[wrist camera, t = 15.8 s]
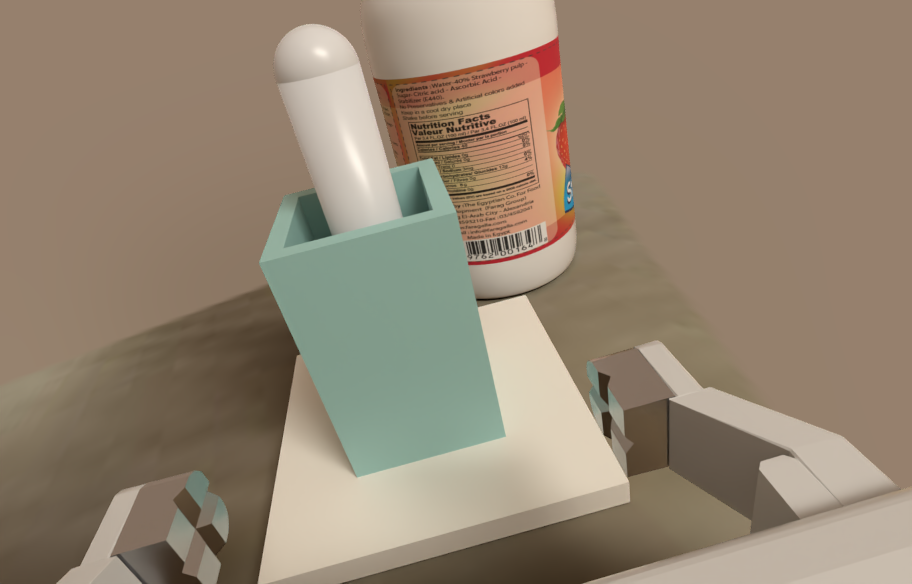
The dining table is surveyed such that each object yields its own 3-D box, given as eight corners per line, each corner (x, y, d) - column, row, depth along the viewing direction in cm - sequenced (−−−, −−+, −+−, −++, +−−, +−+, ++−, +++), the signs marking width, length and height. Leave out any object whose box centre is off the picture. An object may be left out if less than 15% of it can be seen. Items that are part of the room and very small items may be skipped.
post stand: (269, 603, 17) (-77, 126, 9) (304, 370, 27) (158, 55, 19) (629, 501, 17) (603, -39, 9) (527, 310, 27) (474, -21, 20)
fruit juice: (402, 267, 34) (217, -357, 20) (515, 214, 38) (426, -352, 23) (481, 325, 27) (278, -593, 13) (612, 253, 30) (569, -537, 16)
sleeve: (357, 477, 19) (258, 263, 14) (357, 379, 24) (284, 195, 19) (506, 436, 19) (456, 212, 15) (476, 347, 24) (432, 158, 19)
